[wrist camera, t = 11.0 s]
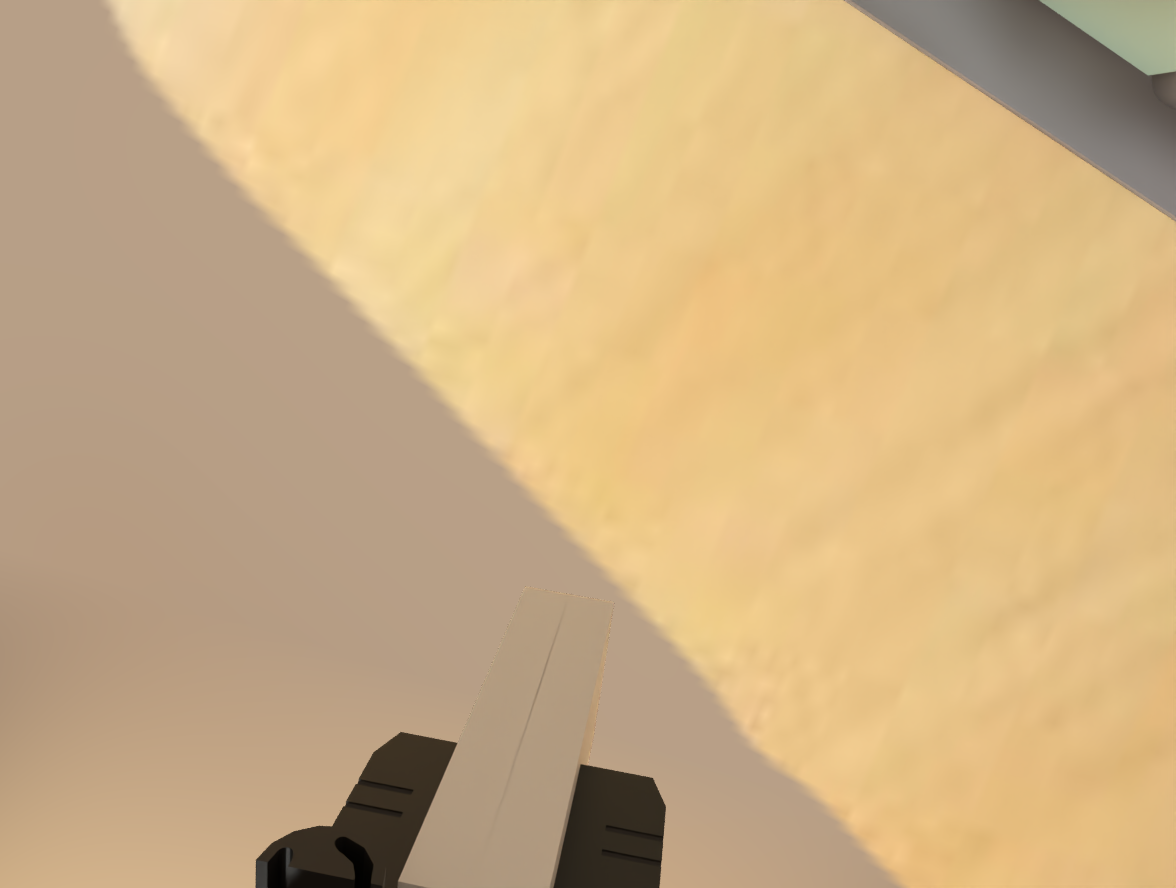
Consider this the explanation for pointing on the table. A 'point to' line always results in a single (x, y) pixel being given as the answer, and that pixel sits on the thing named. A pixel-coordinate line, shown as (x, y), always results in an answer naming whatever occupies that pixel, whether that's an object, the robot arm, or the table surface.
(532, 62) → the table surface
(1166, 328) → the table surface
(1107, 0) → the gate
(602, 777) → the robot arm
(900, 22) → the gate frame
